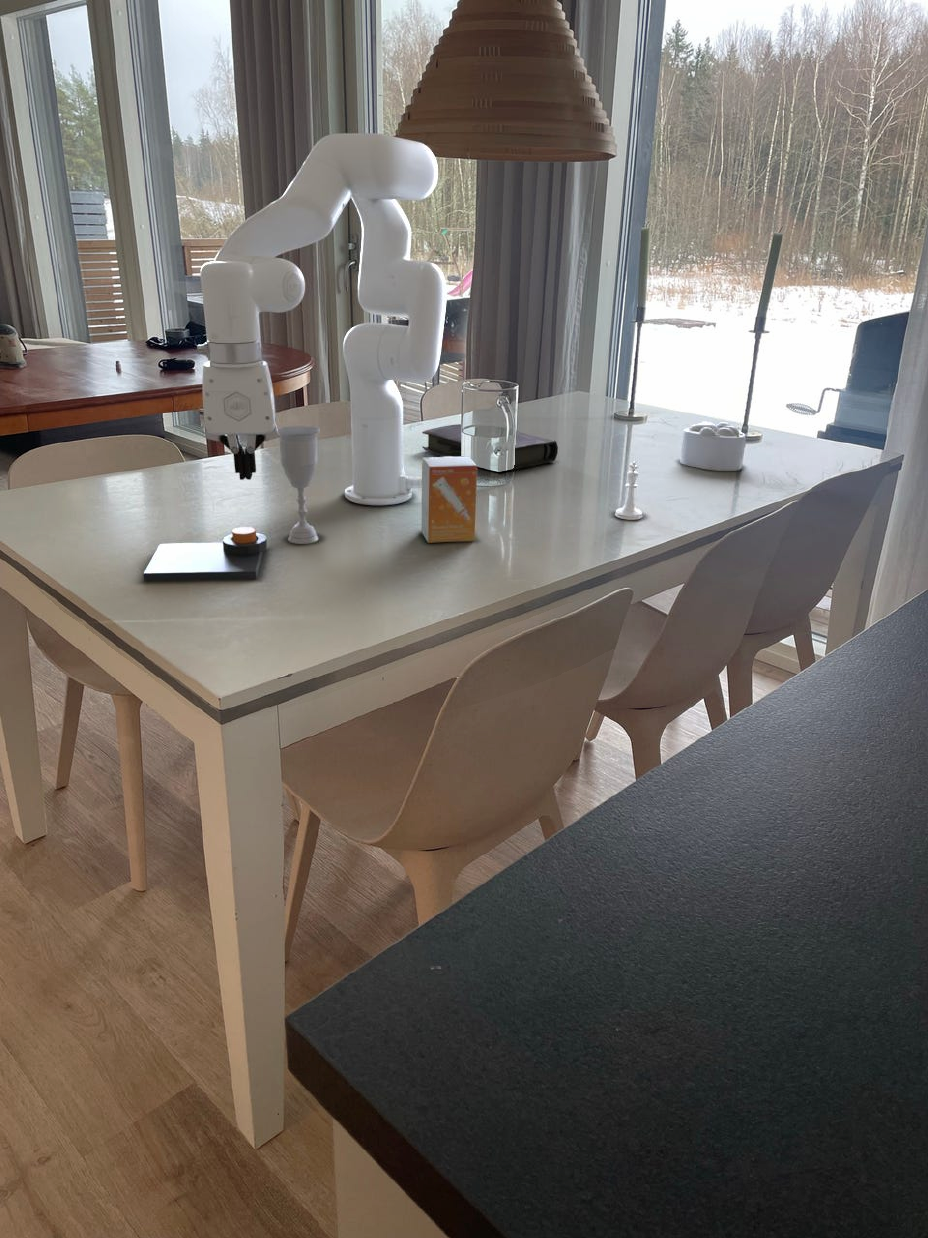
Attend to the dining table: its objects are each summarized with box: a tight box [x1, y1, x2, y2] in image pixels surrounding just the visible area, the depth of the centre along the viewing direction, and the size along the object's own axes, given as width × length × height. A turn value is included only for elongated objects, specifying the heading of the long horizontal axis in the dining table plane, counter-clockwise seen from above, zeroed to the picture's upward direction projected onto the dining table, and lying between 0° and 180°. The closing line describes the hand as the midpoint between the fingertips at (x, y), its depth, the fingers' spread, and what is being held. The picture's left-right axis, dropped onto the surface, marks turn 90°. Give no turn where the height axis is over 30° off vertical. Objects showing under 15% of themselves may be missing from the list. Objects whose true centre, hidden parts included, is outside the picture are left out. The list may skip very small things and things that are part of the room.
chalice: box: [278, 425, 320, 545], centre depth 150 cm, size 7×7×18 cm
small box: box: [421, 456, 478, 544], centre depth 154 cm, size 8×6×13 cm
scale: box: [142, 532, 268, 583], centre depth 141 cm, size 17×13×3 cm
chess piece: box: [614, 461, 643, 521], centre depth 167 cm, size 5×5×10 cm
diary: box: [422, 423, 559, 471], centre depth 206 cm, size 19×25×5 cm
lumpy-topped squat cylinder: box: [679, 421, 747, 472], centre depth 203 cm, size 10×13×9 cm
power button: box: [231, 526, 257, 543], centre depth 144 cm, size 4×4×2 cm
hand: (246, 476), depth 141 cm, fingers closed
